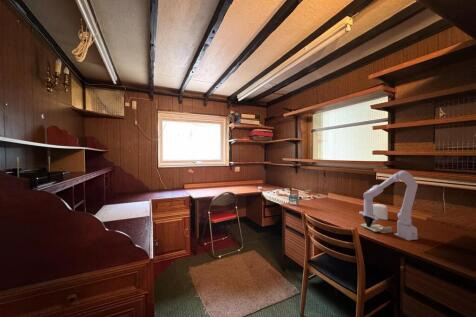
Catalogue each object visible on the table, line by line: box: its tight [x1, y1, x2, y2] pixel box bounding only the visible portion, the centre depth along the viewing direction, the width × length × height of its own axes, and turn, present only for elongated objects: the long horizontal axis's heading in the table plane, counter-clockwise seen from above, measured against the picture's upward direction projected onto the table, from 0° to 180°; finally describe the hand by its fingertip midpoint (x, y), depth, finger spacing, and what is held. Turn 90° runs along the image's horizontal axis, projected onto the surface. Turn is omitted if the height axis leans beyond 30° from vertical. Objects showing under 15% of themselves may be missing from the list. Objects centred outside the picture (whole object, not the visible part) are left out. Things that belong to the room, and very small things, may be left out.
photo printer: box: [373, 203, 389, 221], centre depth 156 cm, size 10×4×12 cm, turn 39°
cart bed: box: [371, 220, 393, 234], centre depth 135 cm, size 13×8×4 cm, turn 10°
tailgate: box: [360, 222, 382, 233], centre depth 134 cm, size 12×1×5 cm
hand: (368, 226), depth 134 cm, fingers closed
